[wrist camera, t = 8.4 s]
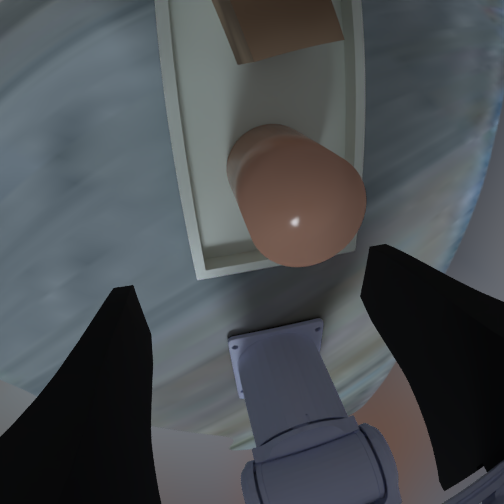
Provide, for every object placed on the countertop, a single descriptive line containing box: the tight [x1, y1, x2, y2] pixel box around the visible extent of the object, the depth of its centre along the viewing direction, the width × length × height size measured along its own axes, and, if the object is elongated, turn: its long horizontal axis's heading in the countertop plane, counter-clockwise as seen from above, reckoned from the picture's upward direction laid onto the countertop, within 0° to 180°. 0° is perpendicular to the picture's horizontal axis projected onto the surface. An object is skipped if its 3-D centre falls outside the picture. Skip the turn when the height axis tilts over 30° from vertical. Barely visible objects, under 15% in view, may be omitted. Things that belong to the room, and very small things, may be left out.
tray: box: [155, 0, 365, 280], centre depth 15 cm, size 17×10×2 cm, turn 4°
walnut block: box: [212, 0, 345, 65], centre depth 11 cm, size 4×4×4 cm
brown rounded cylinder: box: [226, 124, 366, 267], centre depth 15 cm, size 5×5×6 cm
